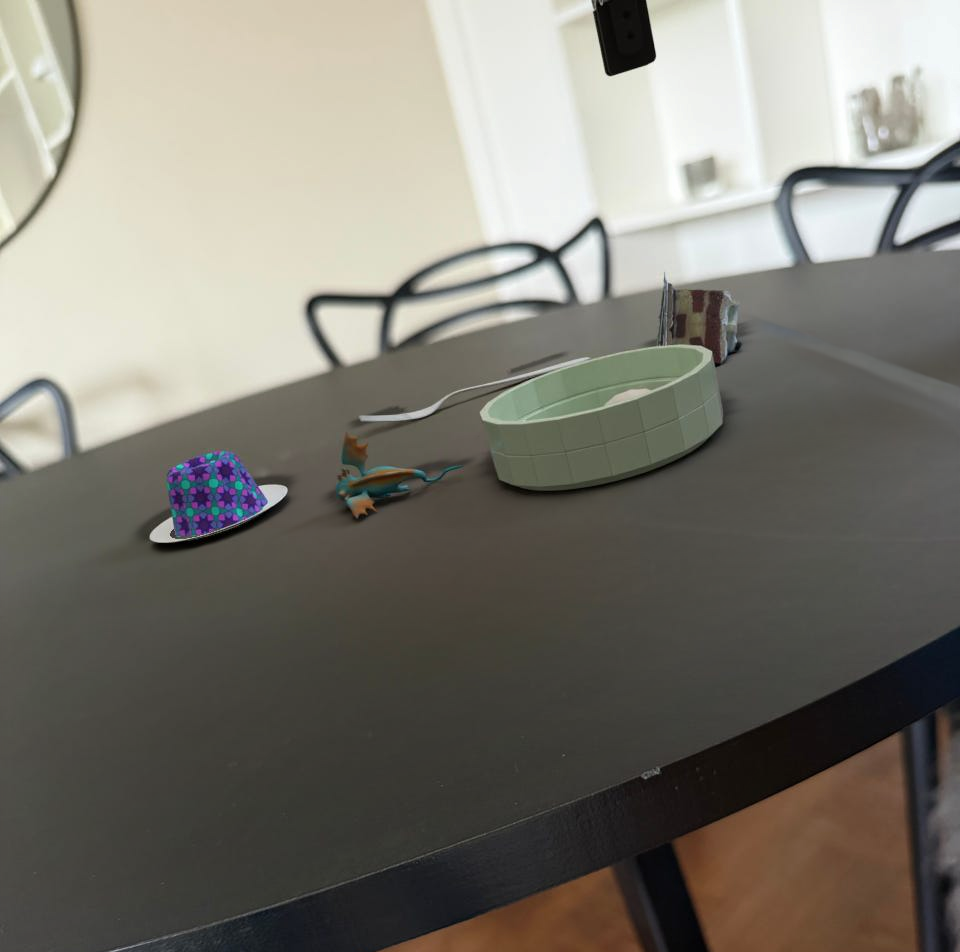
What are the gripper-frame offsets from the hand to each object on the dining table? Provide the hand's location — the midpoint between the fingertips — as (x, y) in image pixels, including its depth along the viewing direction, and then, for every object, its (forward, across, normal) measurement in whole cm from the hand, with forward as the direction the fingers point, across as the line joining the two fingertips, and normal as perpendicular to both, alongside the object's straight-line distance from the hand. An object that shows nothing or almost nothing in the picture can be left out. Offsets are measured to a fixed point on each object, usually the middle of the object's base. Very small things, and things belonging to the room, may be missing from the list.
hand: (631, 68), depth 69 cm
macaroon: (+23, -3, +5) cm, 23 cm away
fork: (+23, +26, +15) cm, 38 cm away
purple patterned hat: (+23, +7, +39) cm, 46 cm away
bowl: (+23, -6, +8) cm, 25 cm away
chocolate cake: (+23, +14, -4) cm, 28 cm away
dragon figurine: (+23, -2, +24) cm, 34 cm away
